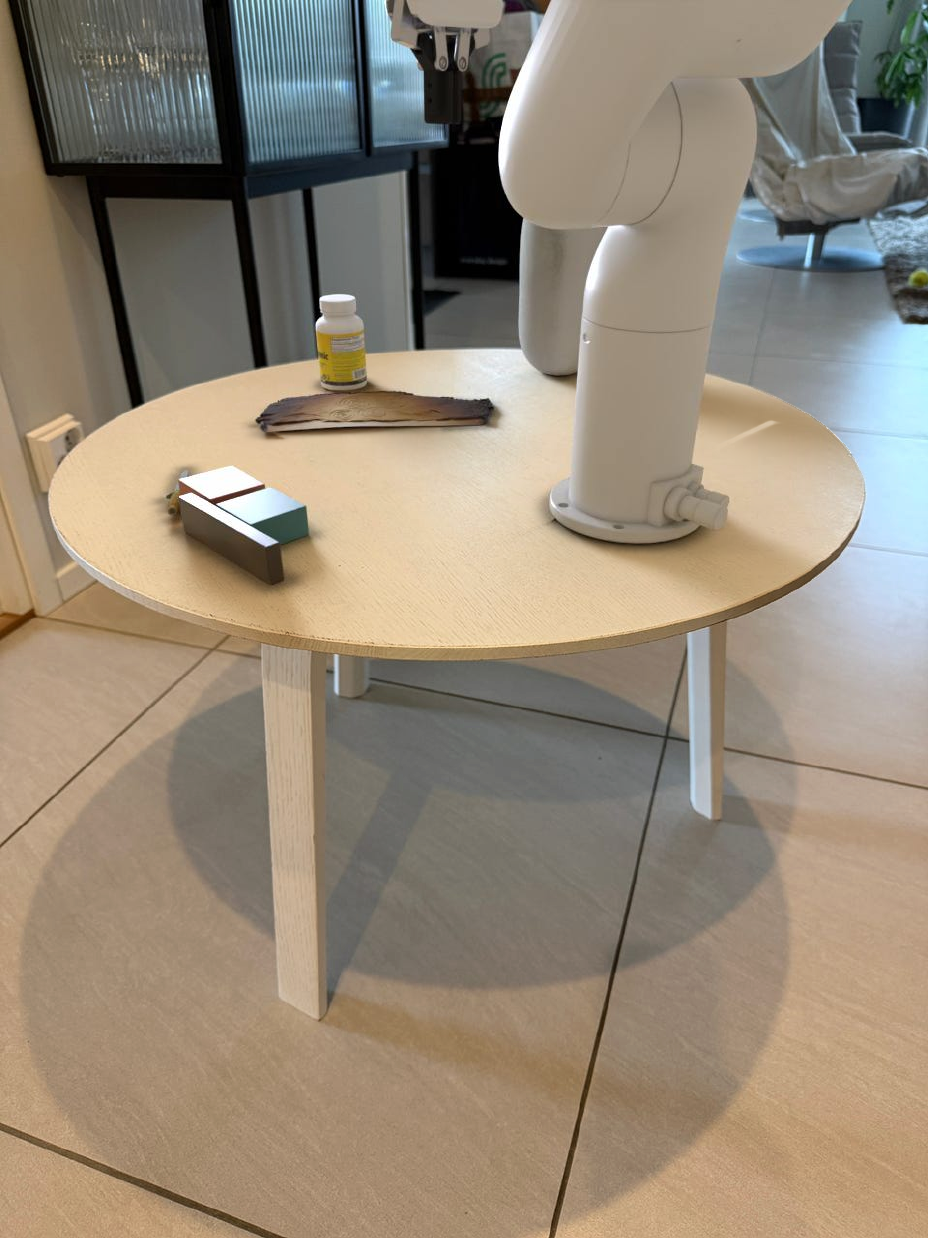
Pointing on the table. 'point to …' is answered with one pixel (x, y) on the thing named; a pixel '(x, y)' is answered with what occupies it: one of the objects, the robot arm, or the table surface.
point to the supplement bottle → (341, 344)
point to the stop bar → (232, 538)
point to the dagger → (175, 497)
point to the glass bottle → (554, 294)
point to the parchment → (372, 411)
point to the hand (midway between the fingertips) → (442, 122)
